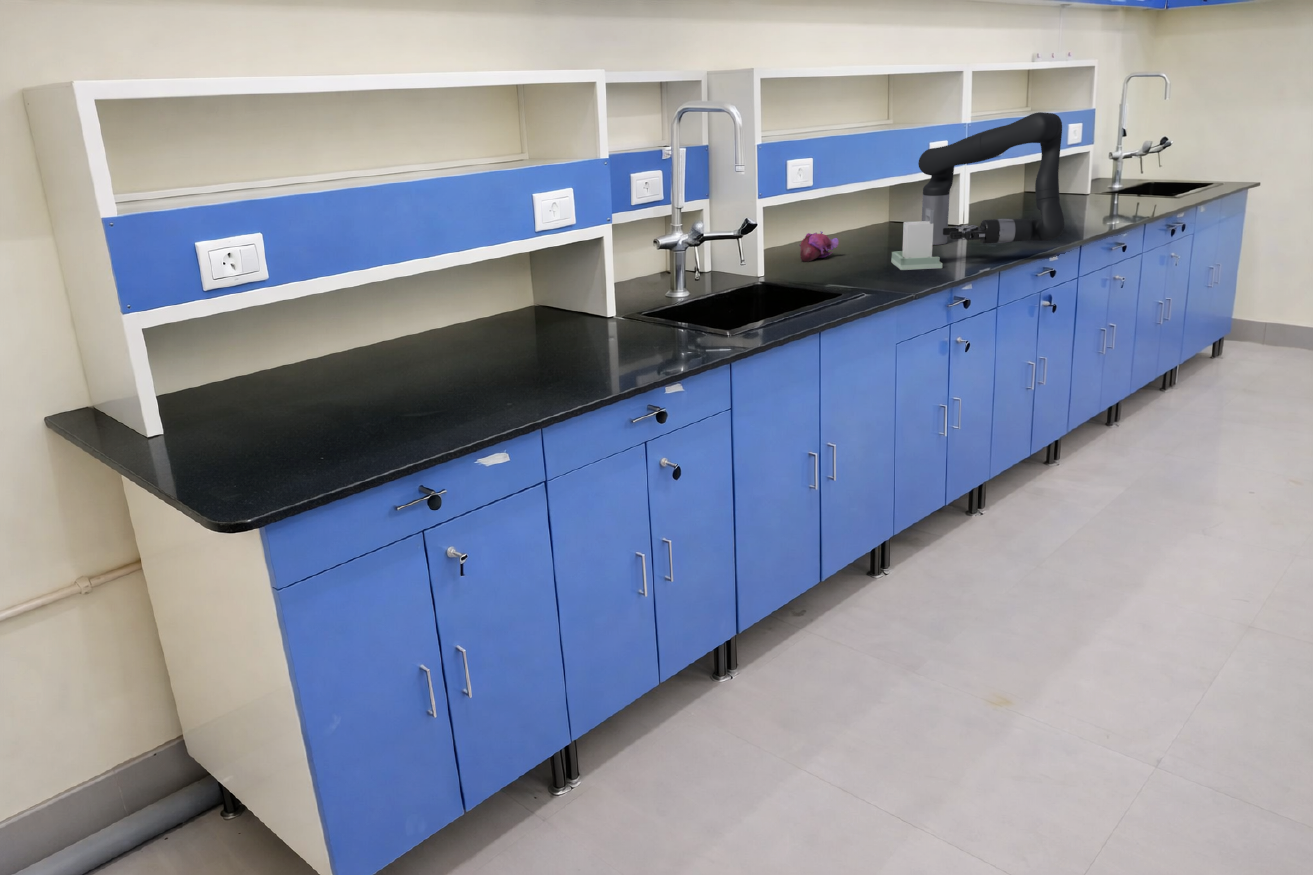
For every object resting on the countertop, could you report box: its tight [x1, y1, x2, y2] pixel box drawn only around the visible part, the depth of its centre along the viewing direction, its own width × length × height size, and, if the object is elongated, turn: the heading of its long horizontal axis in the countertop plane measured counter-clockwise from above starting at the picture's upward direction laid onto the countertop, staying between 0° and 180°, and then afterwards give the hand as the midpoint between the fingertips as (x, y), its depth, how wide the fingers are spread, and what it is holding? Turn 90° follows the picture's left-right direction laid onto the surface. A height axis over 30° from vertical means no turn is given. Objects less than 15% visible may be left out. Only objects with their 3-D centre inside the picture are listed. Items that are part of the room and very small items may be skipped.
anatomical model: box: [798, 231, 840, 263], centre depth 335 cm, size 12×10×15 cm
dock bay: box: [890, 250, 943, 271], centre depth 316 cm, size 14×13×4 cm
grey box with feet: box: [902, 208, 934, 258], centre depth 313 cm, size 6×8×16 cm
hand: (946, 233), depth 313 cm, fingers open, 8 cm apart
